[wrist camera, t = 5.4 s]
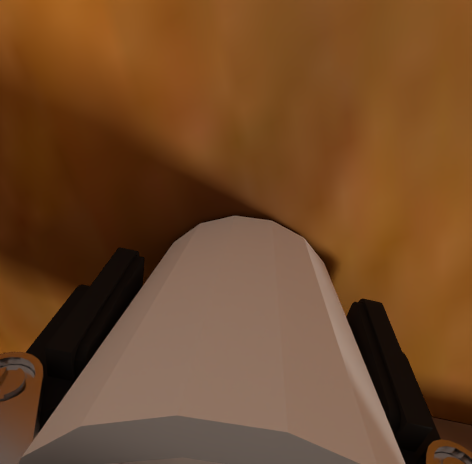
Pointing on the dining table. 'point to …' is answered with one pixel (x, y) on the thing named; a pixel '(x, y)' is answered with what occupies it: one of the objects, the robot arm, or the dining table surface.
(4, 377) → the robot arm
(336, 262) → the dining table surface
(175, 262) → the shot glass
